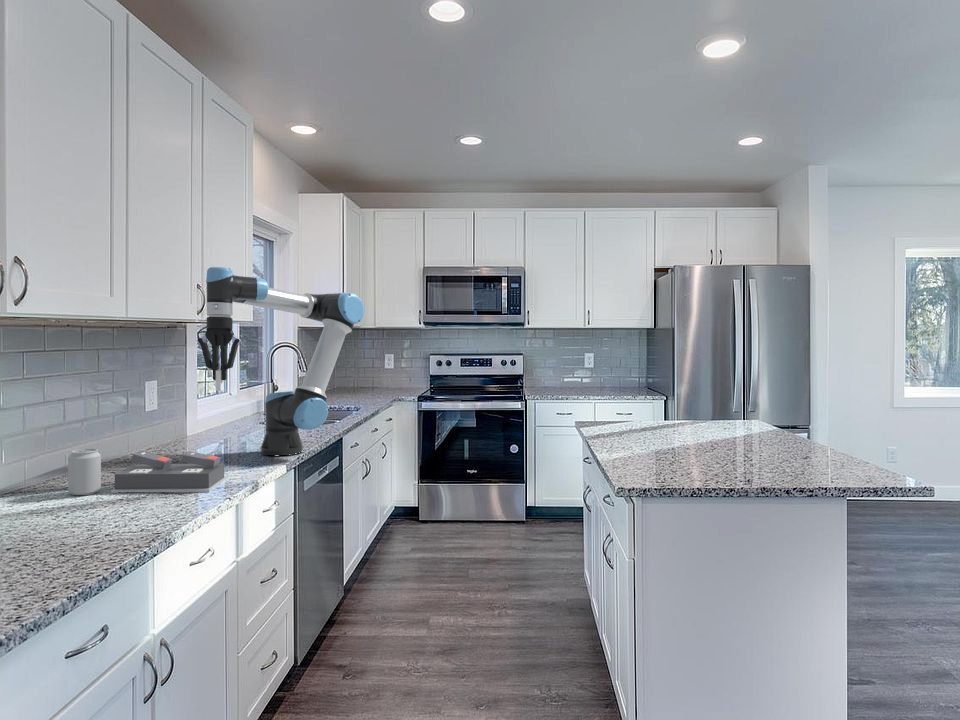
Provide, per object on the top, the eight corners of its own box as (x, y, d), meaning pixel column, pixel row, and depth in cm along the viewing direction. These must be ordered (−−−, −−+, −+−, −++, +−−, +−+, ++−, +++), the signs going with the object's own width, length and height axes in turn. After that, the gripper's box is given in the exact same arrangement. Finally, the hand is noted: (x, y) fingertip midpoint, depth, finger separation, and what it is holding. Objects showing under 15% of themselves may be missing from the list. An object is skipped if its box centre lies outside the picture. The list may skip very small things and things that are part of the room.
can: (84, 497, 154) (84, 453, 153) (61, 495, 155) (60, 451, 155) (107, 490, 161) (107, 448, 160) (85, 488, 162) (84, 446, 162)
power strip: (137, 479, 173) (137, 462, 173) (227, 479, 176) (227, 461, 176) (111, 493, 158) (110, 473, 158) (209, 492, 161) (209, 473, 161)
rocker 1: (139, 457, 170) (141, 450, 170) (170, 465, 171) (172, 458, 171) (131, 460, 165) (133, 453, 165) (162, 469, 166) (165, 462, 166)
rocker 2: (188, 457, 172) (190, 450, 172) (219, 463, 173) (220, 456, 173) (181, 461, 167) (183, 454, 167) (213, 467, 168) (214, 460, 168)
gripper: (193, 315, 178) (193, 391, 178) (237, 316, 179) (237, 391, 180) (202, 316, 185) (202, 389, 186) (244, 317, 186) (244, 389, 187)
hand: (219, 390), depth 183 cm, fingers closed
